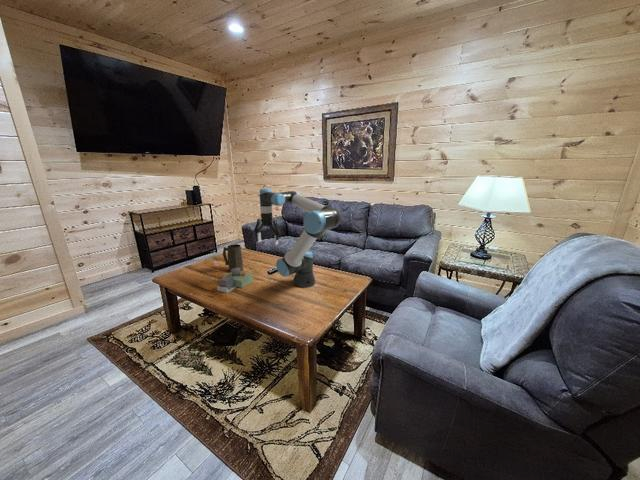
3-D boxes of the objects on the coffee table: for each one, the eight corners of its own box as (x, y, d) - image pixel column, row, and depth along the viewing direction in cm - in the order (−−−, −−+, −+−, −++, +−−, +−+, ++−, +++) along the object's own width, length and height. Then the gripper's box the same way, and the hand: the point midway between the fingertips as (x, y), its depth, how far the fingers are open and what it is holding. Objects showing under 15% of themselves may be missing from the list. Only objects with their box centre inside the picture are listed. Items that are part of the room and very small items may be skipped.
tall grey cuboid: (234, 286, 174) (233, 276, 172) (227, 291, 168) (226, 281, 166) (228, 285, 176) (227, 275, 174) (220, 289, 170) (219, 279, 168)
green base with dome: (253, 280, 184) (252, 268, 181) (232, 294, 165) (230, 281, 162) (234, 277, 190) (233, 265, 187) (212, 289, 171) (210, 276, 168)
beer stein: (246, 267, 207) (242, 243, 201) (241, 273, 196) (237, 247, 191) (227, 268, 208) (223, 244, 203) (221, 273, 198) (217, 248, 193)
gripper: (285, 212, 172) (286, 243, 178) (254, 210, 181) (256, 239, 187) (279, 214, 165) (280, 246, 171) (247, 211, 175) (249, 242, 181)
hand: (267, 243), depth 179 cm, fingers open, 13 cm apart
